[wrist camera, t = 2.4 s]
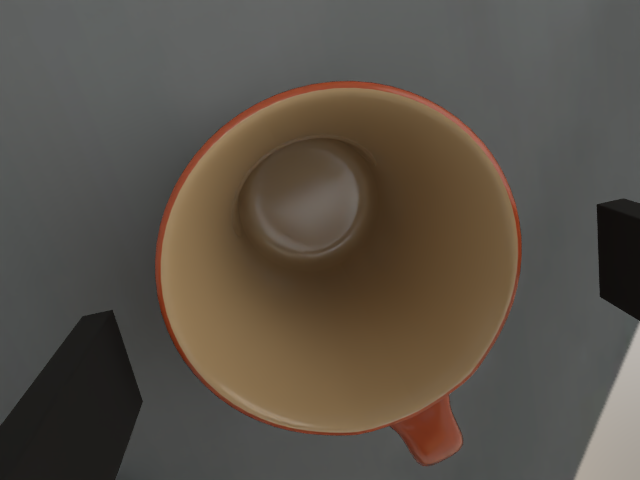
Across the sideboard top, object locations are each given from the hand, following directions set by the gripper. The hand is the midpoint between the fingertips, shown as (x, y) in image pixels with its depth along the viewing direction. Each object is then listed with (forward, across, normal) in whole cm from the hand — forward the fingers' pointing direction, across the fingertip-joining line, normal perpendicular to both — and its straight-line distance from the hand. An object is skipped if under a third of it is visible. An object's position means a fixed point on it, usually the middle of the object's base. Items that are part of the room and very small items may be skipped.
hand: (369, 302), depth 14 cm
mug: (+9, 0, 0) cm, 9 cm away
